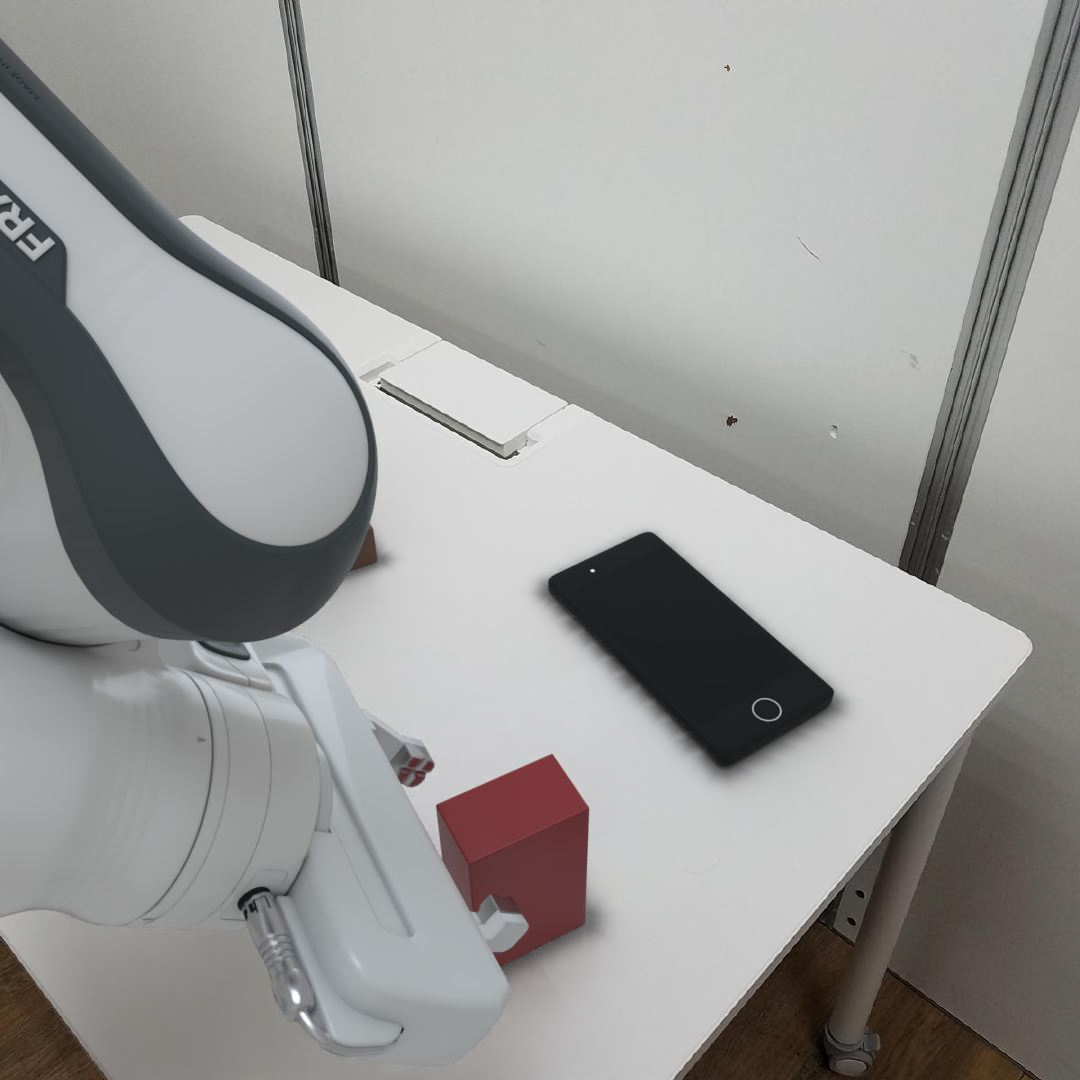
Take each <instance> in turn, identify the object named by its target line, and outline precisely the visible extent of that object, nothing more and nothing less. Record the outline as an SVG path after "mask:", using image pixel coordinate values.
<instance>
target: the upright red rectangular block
mask: <svg viewBox="0 0 1080 1080" xmlns="http://www.w3.org/2000/svg"><path fill="white" fill-rule="evenodd" d="M435 809H436V811H435V812H436V820H437V827H438V828H437V829H438V836H439V837H438V838H439V844H440V853H441V859H442V860H443V862H444V864H445V866H446V868H447V870H448V872H449V873H450V875H451V877H452V879H453V881H454V883H455V884H456V886H457V888H458V890H459V892H460V894H461V896H462V897H463V899H464V901H465V903H466V905H467V907H468V908H469V910H470V912H479V908H480V905H481V904H482V903H483V902H484V900H485V899H486V898H487V897H488V896H489V895H500V896H502V897H503V898H506V897H507V896H509V897H512V898H513V900H514V902H515V903H516V905H517V907H518V908H519V910H520V911H521V913H522V915H523V917H524V918H525V920H526V921H527V923H528V924H529V928H528V930H527V931H526V933H525V934H524V935H523V936H522V937H521V938H520V939H519V940H518V941H517V942H516V943H515V945H514V946H513V947H512V948H510V949H508V950H507V951H504V952H492V953H493V955H494V956H495V958H496V960H497V962H498V964H499V966H500V967H503V966H504V965H507V964H509V963H510V962H512V961H515V960H517V959H518V958H520V957H523V956H524V955H527V954H529V953H531V952H533V951H534V950H537V949H538V948H540V947H542V946H544V945H546V944H548V943H550V942H552V941H554V940H556V939H558V938H560V937H562V936H564V935H566V934H567V933H570V932H571V931H574V930H576V929H578V928H579V927H582V926H583V925H585V924H586V912H587V911H586V909H587V886H588V885H587V883H588V881H587V880H588V857H589V855H588V854H589V828H590V806H589V805H588V803H587V802H586V800H585V799H584V798H583V796H582V795H581V793H580V792H579V790H578V789H577V787H576V785H575V784H574V783H573V782H572V780H571V778H570V777H569V775H568V773H566V771H565V769H564V768H563V767H562V765H561V763H560V762H559V761H558V759H557V758H556V757H555V755H554V754H553V753H549V754H547V755H545V756H543V757H540V758H538V759H537V760H534V761H532V762H530V763H527V764H525V765H522V766H520V767H518V768H516V769H514V770H512V771H509V772H506V773H504V774H502V775H500V776H497V777H495V778H493V779H491V780H489V781H486V782H484V783H482V784H480V785H477V786H474V787H473V788H471V789H468V790H466V791H464V792H461V793H459V794H457V795H455V796H453V797H450V798H447V799H446V800H443V801H441V802H438V803H436V805H435Z"/></svg>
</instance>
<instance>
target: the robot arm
mask: <svg viewBox="0 0 1080 1080" xmlns="http://www.w3.org/2000/svg"><path fill="white" fill-rule="evenodd" d="M376 437H377V436H376V433H375V427H374V423H373V419H372V416H371V412H370V410H369V405H368V403H367V401H366V398H365V396H364V394H363V391H362V389H361V386H360V385H359V382H358V381H357V379H356V377H355V375H354V373H353V372H352V370H351V368H350V367H349V365H348V363H347V362H346V360H345V359H344V357H343V356H342V354H341V353H340V352H339V350H338V349H337V347H336V346H335V345H334V343H332V341H331V340H330V339H329V337H328V336H327V335H326V334H325V333H324V332H323V330H321V329H320V328H319V326H317V325H316V324H315V322H313V321H312V320H311V319H310V318H309V317H308V316H307V315H305V313H303V312H302V310H300V309H299V308H298V307H297V306H296V305H295V304H293V302H291V301H289V299H287V298H286V297H285V296H283V295H282V294H281V293H279V292H278V291H276V290H275V289H274V288H273V287H271V286H270V285H269V284H266V283H265V282H264V281H262V280H261V279H259V278H258V277H257V276H255V275H253V274H252V273H250V271H248V270H246V269H245V268H243V267H242V266H240V265H239V264H237V263H236V262H235V261H233V260H231V259H230V258H229V257H227V256H226V255H225V254H223V253H222V252H220V251H219V250H217V249H216V248H215V247H213V246H212V245H210V244H209V243H208V242H207V241H205V240H204V239H203V238H202V237H200V236H199V235H198V234H196V233H195V232H194V231H193V230H191V229H190V228H189V227H188V226H187V225H186V224H185V223H183V221H182V220H180V219H179V218H178V217H176V215H174V214H173V213H172V212H171V211H170V210H169V209H168V208H167V207H166V206H165V205H164V204H163V203H161V202H160V200H158V198H157V197H155V195H154V194H152V193H151V192H150V191H149V190H148V188H146V187H145V186H144V185H143V183H142V182H140V180H139V179H137V177H135V176H134V175H133V174H132V172H131V171H130V170H129V169H128V168H127V167H126V166H125V165H124V164H123V163H122V162H121V161H120V160H119V159H118V158H117V157H116V156H115V155H114V154H113V153H112V151H110V150H109V149H108V148H107V146H105V145H104V144H103V142H102V141H101V140H100V139H99V138H98V137H97V136H96V135H95V133H93V132H92V131H91V130H90V129H89V128H88V127H87V126H86V125H85V124H84V123H83V122H82V121H81V120H80V119H79V117H77V116H76V115H75V113H74V112H72V110H70V108H68V106H67V105H66V104H65V103H64V102H63V101H62V100H61V98H59V97H58V96H57V95H56V94H55V93H54V91H52V90H51V89H50V88H49V87H48V85H46V83H44V81H42V80H41V78H40V77H39V76H38V74H36V73H35V72H34V71H33V70H32V69H31V68H30V67H29V66H28V65H27V63H25V62H24V60H23V59H22V58H21V57H19V55H18V54H16V53H15V51H14V50H13V49H11V47H10V46H9V45H8V44H7V43H6V42H5V41H4V40H3V39H2V38H1V37H0V919H1V918H5V917H8V916H13V915H17V914H20V913H24V912H31V911H49V912H56V913H61V914H64V915H66V916H69V917H72V918H74V919H76V920H78V921H80V922H84V923H85V924H86V923H87V924H90V925H95V926H101V927H112V928H114V927H117V928H130V929H131V928H133V929H150V930H151V929H152V930H154V929H155V930H170V931H171V930H173V931H174V930H177V931H178V930H180V931H199V932H200V931H201V932H218V933H232V932H236V931H240V930H243V929H246V928H248V931H249V934H250V936H251V939H252V942H253V944H254V946H255V949H256V951H257V953H258V954H259V956H260V958H261V960H262V961H263V963H264V966H265V967H266V970H267V973H268V976H269V978H270V980H271V981H270V982H271V983H270V988H271V992H272V996H273V998H274V1001H275V1002H276V1005H277V1007H278V1009H279V1011H280V1012H281V1014H282V1015H283V1017H284V1019H286V1021H288V1022H290V1023H296V1022H297V1024H298V1025H299V1027H300V1028H301V1030H302V1031H303V1033H305V1034H306V1036H307V1037H308V1038H310V1039H311V1040H312V1041H313V1042H314V1043H315V1044H317V1046H318V1047H319V1049H320V1050H321V1051H322V1053H323V1054H325V1056H326V1055H327V1056H329V1057H332V1058H334V1059H342V1060H348V1059H356V1060H361V1061H367V1062H375V1063H381V1064H389V1065H396V1066H397V1065H400V1066H410V1067H432V1068H433V1067H434V1068H435V1067H437V1068H438V1067H448V1066H452V1065H454V1064H456V1063H458V1062H460V1061H461V1060H462V1059H463V1058H465V1057H466V1056H467V1055H468V1054H470V1052H472V1051H473V1050H474V1049H475V1048H476V1047H477V1046H478V1045H479V1044H480V1043H481V1042H482V1041H483V1040H484V1038H485V1037H487V1035H488V1034H489V1033H490V1032H491V1030H493V1028H494V1027H495V1025H497V1023H498V1022H499V1021H500V1019H501V1017H502V1016H503V1014H504V1012H505V1009H506V1007H507V1005H508V1002H509V1000H510V997H511V986H510V983H509V980H508V979H507V976H506V975H505V973H504V971H503V969H502V968H501V967H502V966H501V967H500V966H499V964H498V962H497V960H496V958H495V956H494V955H493V953H492V952H504V951H507V950H508V949H510V948H512V947H513V946H514V945H515V943H516V942H517V941H518V940H519V939H520V938H521V937H522V936H523V935H524V934H525V933H526V931H527V930H528V928H529V924H528V923H527V921H526V920H525V918H524V917H523V915H522V913H521V911H520V910H519V908H518V907H517V905H516V903H515V902H514V900H513V898H512V897H509V896H507V897H506V898H503V897H502V896H500V895H489V896H488V897H487V898H486V899H485V900H484V902H483V903H482V904H481V905H480V908H479V912H470V910H469V908H468V907H467V905H466V903H465V901H464V899H463V897H462V896H461V894H460V892H459V890H458V888H457V886H456V884H455V883H454V881H453V879H452V877H451V875H450V873H449V872H448V870H447V868H446V866H445V864H444V862H443V860H442V856H441V855H440V853H439V851H438V850H437V848H436V845H435V844H434V842H433V840H432V838H431V836H430V835H429V833H428V831H427V829H426V827H425V825H424V823H423V822H422V820H421V818H420V817H419V814H418V812H417V810H416V809H415V806H414V805H413V803H412V800H411V799H410V798H409V796H408V794H407V792H406V790H405V788H404V786H405V787H406V788H412V789H413V788H415V787H418V786H419V785H421V784H422V783H423V782H424V781H425V779H426V776H427V774H430V773H432V771H433V770H434V769H435V765H436V763H435V762H434V759H433V758H432V756H431V754H430V753H429V751H428V749H427V747H426V745H425V743H424V741H423V740H422V739H418V738H414V737H410V736H406V735H401V734H400V733H399V732H398V731H397V730H395V729H394V728H393V727H391V726H390V725H388V724H387V723H385V722H384V721H383V720H381V719H380V718H379V717H377V716H376V715H374V714H373V713H371V712H370V711H368V710H367V709H363V708H360V706H359V703H358V701H357V699H356V698H355V696H354V694H353V693H352V690H351V688H350V687H349V685H348V683H347V681H346V679H345V677H344V676H343V674H342V672H341V671H340V669H339V667H338V664H337V662H336V660H335V659H334V658H333V656H331V654H329V653H328V652H327V651H326V650H325V649H323V648H322V647H321V646H320V645H319V644H317V643H315V642H314V641H313V640H311V639H310V638H308V637H306V636H304V635H301V634H298V633H296V632H293V631H292V630H294V629H296V628H298V627H299V626H301V625H302V624H304V623H305V622H307V621H308V620H310V619H311V618H312V617H313V616H315V615H316V614H317V613H318V612H319V611H320V610H321V609H322V608H324V607H325V605H326V604H327V603H328V602H329V601H330V600H331V599H332V597H333V596H334V595H335V594H336V592H337V591H338V590H339V588H340V587H341V585H342V584H343V582H344V580H345V579H346V577H347V576H348V574H349V573H350V572H351V571H350V569H351V568H352V566H353V564H354V562H355V560H356V558H357V556H358V554H359V552H360V550H361V547H362V545H363V542H364V539H365V537H366V534H367V531H368V528H369V524H371V521H372V516H373V513H374V509H375V503H376V497H377V489H378V481H379V456H378V446H377V445H378V444H377V438H376Z"/></svg>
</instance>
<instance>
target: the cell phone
mask: <svg viewBox="0 0 1080 1080" xmlns="http://www.w3.org/2000/svg"><path fill="white" fill-rule="evenodd" d="M547 585H548V586H547V589H548V591H549V592H550V593H551V594H552V595H553V596H554V598H556V599H557V600H558V601H559V602H560V603H561V604H562V605H563V606H564V607H565V608H566V609H567V610H568V611H569V612H570V613H571V615H572V616H574V617H575V618H576V619H577V621H579V622H580V623H581V624H582V625H583V627H584V628H585V629H586V630H588V632H590V633H591V634H592V635H593V636H594V637H595V638H596V640H597V641H598V642H600V644H601V645H602V646H604V647H605V649H606V650H607V651H608V652H609V653H610V654H611V655H612V656H613V657H614V658H615V659H616V660H617V661H618V662H619V663H620V664H621V665H622V666H623V667H624V668H625V669H626V670H627V671H628V672H629V673H630V674H631V675H632V676H633V677H634V678H635V679H636V680H637V681H638V682H639V683H640V684H641V685H642V686H643V687H644V689H646V691H648V693H650V694H651V696H652V697H654V698H655V699H656V700H657V701H658V702H659V703H660V705H662V706H663V708H665V709H666V711H667V712H669V714H670V715H671V716H673V717H674V719H675V720H676V721H677V722H678V723H679V724H680V725H681V726H682V727H683V728H684V729H685V730H686V731H687V732H688V733H689V734H690V735H691V736H692V737H693V738H694V739H695V740H696V741H697V742H698V743H699V744H700V745H701V746H702V747H703V748H704V749H705V750H706V751H707V753H708V754H710V756H712V757H713V759H714V761H716V762H717V763H718V764H719V765H721V766H723V767H725V766H731V765H733V764H735V763H736V762H739V761H741V759H743V758H745V757H747V756H748V755H750V754H751V753H753V752H755V751H756V750H759V749H760V748H761V747H763V746H764V745H767V744H768V743H769V742H772V741H773V740H775V739H776V738H778V737H779V736H781V735H783V734H784V733H786V732H788V731H789V730H791V729H792V728H794V727H795V726H797V725H799V724H801V723H802V722H804V721H806V720H807V719H809V718H810V717H812V716H814V715H816V714H818V713H819V712H821V711H822V710H824V709H826V708H827V707H828V706H829V705H830V704H831V703H832V702H833V699H834V695H835V689H834V688H833V687H832V686H831V685H830V684H828V682H827V681H826V680H824V679H823V678H822V677H821V676H819V674H818V673H816V672H815V671H814V670H813V669H811V668H810V667H809V666H808V664H805V662H803V661H802V660H801V659H800V658H799V657H798V656H796V655H795V653H793V652H792V651H791V650H789V648H788V647H786V646H785V645H784V644H783V643H782V642H780V641H779V640H778V639H777V638H776V637H775V636H774V635H772V634H771V633H770V632H769V631H768V630H766V628H765V627H763V626H762V625H761V624H759V622H757V621H756V620H755V619H754V618H753V617H752V616H751V615H750V614H748V613H747V612H746V611H745V610H744V609H742V608H741V607H740V606H739V605H738V604H737V603H736V602H734V601H733V600H732V599H731V598H730V597H729V596H727V594H726V593H724V592H723V591H722V590H721V589H719V588H718V587H717V586H716V585H715V584H714V583H713V582H711V581H710V580H709V579H708V578H707V577H706V576H705V575H703V574H702V573H701V572H700V571H699V570H697V569H696V568H695V567H694V566H693V565H692V564H691V563H690V562H689V561H687V560H686V559H685V558H684V557H683V556H681V554H679V553H678V552H677V551H676V550H675V549H674V548H672V547H671V546H670V545H669V544H667V543H666V542H665V541H664V540H663V539H662V538H661V537H659V535H657V534H656V533H654V532H652V531H644V532H641V533H639V534H636V535H635V536H633V537H631V538H628V539H626V540H624V541H622V542H620V543H618V544H616V545H614V546H612V547H609V548H607V549H605V550H602V551H601V552H599V553H597V554H595V555H592V556H591V557H589V558H586V559H584V560H582V561H580V562H577V563H575V564H574V565H571V566H569V567H567V568H564V569H563V570H561V571H559V572H557V573H555V574H553V575H551V576H550V577H549V578H548V581H547Z"/></svg>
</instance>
